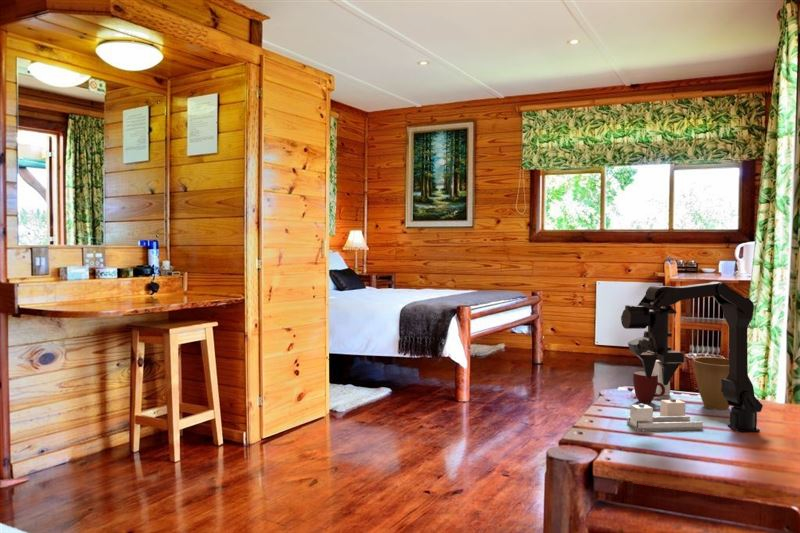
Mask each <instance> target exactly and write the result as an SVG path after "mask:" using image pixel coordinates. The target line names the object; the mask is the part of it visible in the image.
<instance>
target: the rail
mask: <svg viewBox="0 0 800 533" xmlns="http://www.w3.org/2000/svg"><path fill="white" fill-rule="evenodd" d="M629 410H630V413H629V416H627V421H626V424H627V425H628V426H630V427H631V426H632V428H633V427H634V428H633V429H635V428H636V429H635V430H637V429H638V430H639V431H638V430H637V431H638V432H656V431H659V432H660V431H662V432H665V431H667V432H668V431H670V432H671V431H703V430H704V427H703V421H691V416H690V415H685V416H660V415H659V416H658V415H657V416H654V407H652V406H650V405H648V404H645V403H638V404H630V408H629ZM643 430H644V431H643Z"/></svg>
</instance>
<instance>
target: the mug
mask: <svg viewBox="0 0 800 533" xmlns="http://www.w3.org/2000/svg"><path fill="white" fill-rule="evenodd" d="M632 374H633V376H632V381H633V388H634V395H635V396H636V398H637V401H638V402H639V403H640V404H651V403H652V402H653V400H654V398H659V397H660V398H661V397H662V396H665V395H664V393H665V387H664V385H663V384H662V383H659V382H658V374H656V373H652V375H651V378H649V379H648V378H646V374H645V371H641V370H640V371H634V372H633V373H632ZM657 385H659V386H660V387H661V388H662V393H661V394H660V395H659V394H657V393H656V389H657Z"/></svg>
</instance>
